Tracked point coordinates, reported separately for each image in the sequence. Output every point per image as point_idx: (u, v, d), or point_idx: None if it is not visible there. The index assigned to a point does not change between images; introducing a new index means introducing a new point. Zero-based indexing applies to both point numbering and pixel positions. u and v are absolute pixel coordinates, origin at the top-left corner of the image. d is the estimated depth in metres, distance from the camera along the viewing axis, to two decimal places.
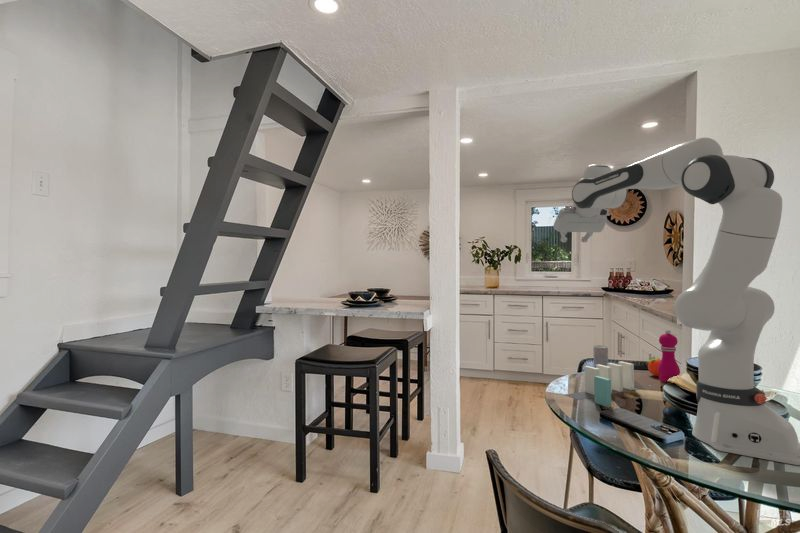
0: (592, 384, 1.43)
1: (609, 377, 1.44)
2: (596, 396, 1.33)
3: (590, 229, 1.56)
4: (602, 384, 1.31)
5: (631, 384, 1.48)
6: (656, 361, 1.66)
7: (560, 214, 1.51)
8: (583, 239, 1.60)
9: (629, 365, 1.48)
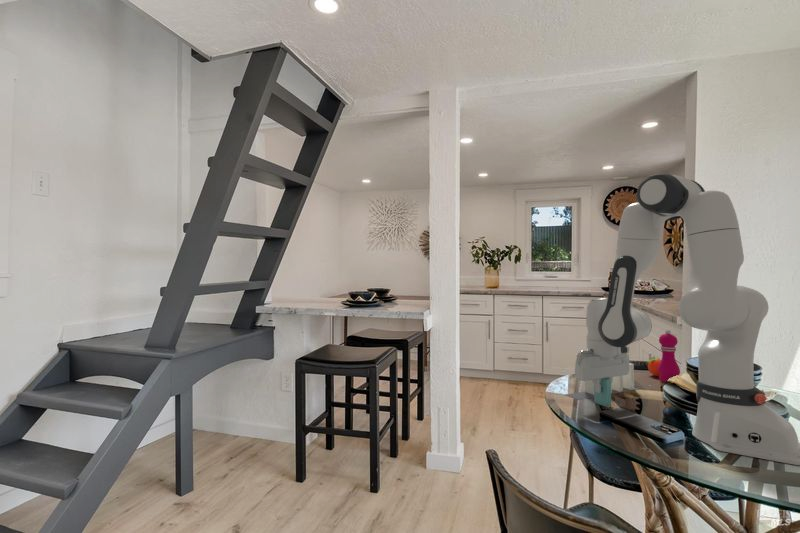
0: (592, 384, 1.43)
1: None
2: (596, 396, 1.33)
3: (616, 372, 1.32)
4: (602, 384, 1.31)
5: (631, 384, 1.48)
6: (656, 361, 1.66)
7: (579, 360, 1.28)
8: None
9: None
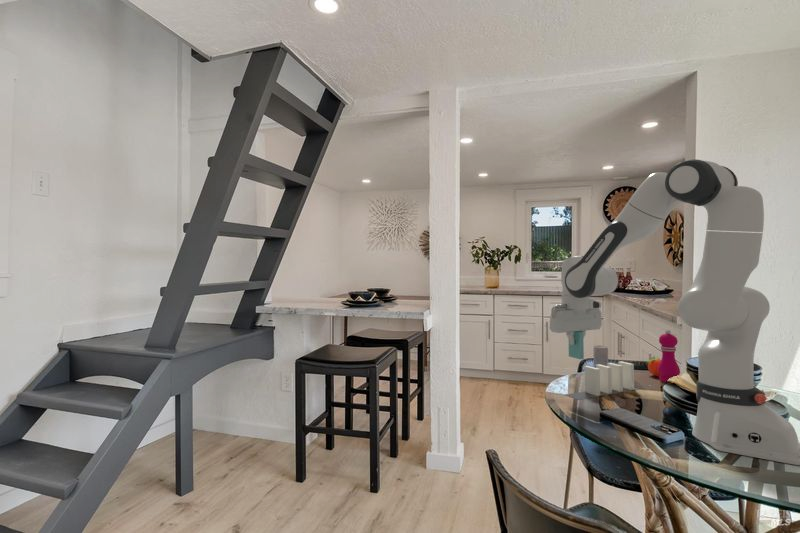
0: (592, 384, 1.43)
1: (609, 377, 1.44)
2: (570, 349, 1.43)
3: (589, 326, 1.41)
4: (575, 337, 1.40)
5: (631, 384, 1.48)
6: (656, 361, 1.66)
7: (553, 313, 1.37)
8: None
9: (629, 365, 1.48)
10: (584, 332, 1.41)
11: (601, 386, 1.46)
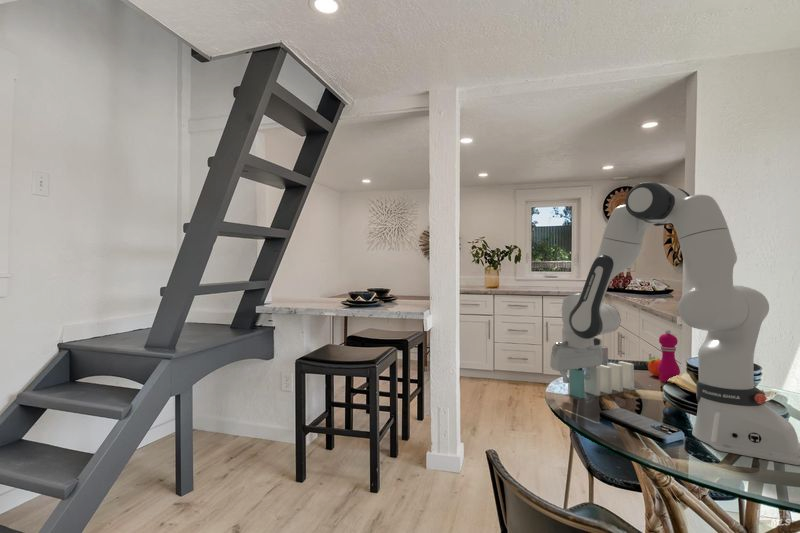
0: (592, 384, 1.43)
1: (609, 377, 1.44)
2: (571, 387, 1.42)
3: (589, 363, 1.41)
4: (576, 375, 1.40)
5: (631, 384, 1.48)
6: (656, 361, 1.66)
7: (554, 351, 1.37)
8: (586, 376, 1.43)
9: (629, 365, 1.48)
10: (592, 368, 1.42)
11: (601, 386, 1.46)
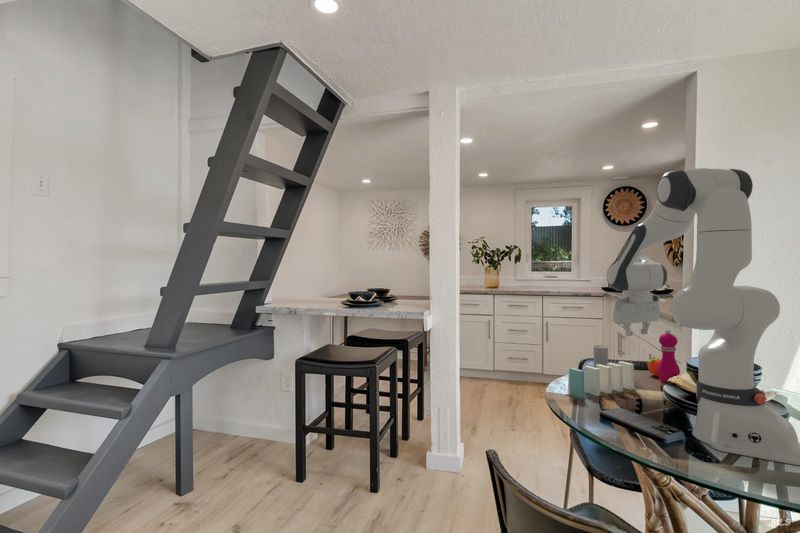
0: (592, 384, 1.43)
1: (609, 377, 1.44)
2: (571, 387, 1.42)
3: (648, 318, 1.53)
4: (576, 375, 1.40)
5: (631, 384, 1.48)
6: (656, 361, 1.66)
7: (617, 306, 1.49)
8: (643, 331, 1.54)
9: (629, 365, 1.48)
10: (648, 323, 1.54)
11: (601, 386, 1.46)
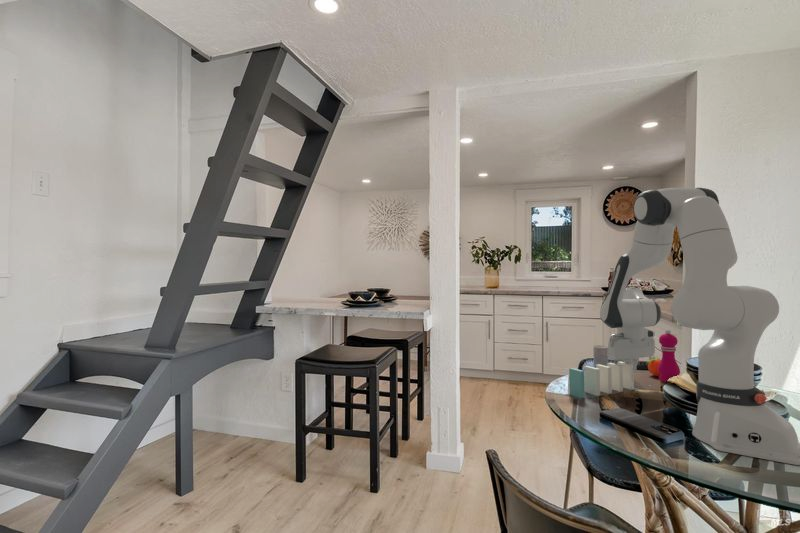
0: (592, 384, 1.43)
1: (609, 377, 1.44)
2: (571, 387, 1.42)
3: (643, 354, 1.51)
4: (576, 375, 1.40)
5: (631, 384, 1.48)
6: (656, 361, 1.66)
7: (611, 342, 1.47)
8: None
9: (628, 365, 1.48)
10: (637, 359, 1.51)
11: (601, 386, 1.46)
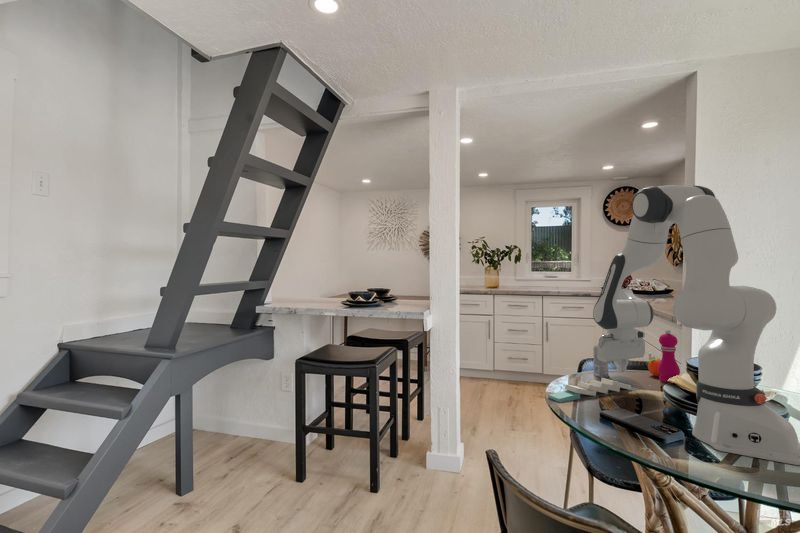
0: None
1: (596, 389, 1.41)
2: None
3: (633, 355, 1.49)
4: None
5: (626, 388, 1.47)
6: (656, 361, 1.66)
7: (601, 343, 1.45)
8: None
9: None
10: (627, 360, 1.49)
11: None
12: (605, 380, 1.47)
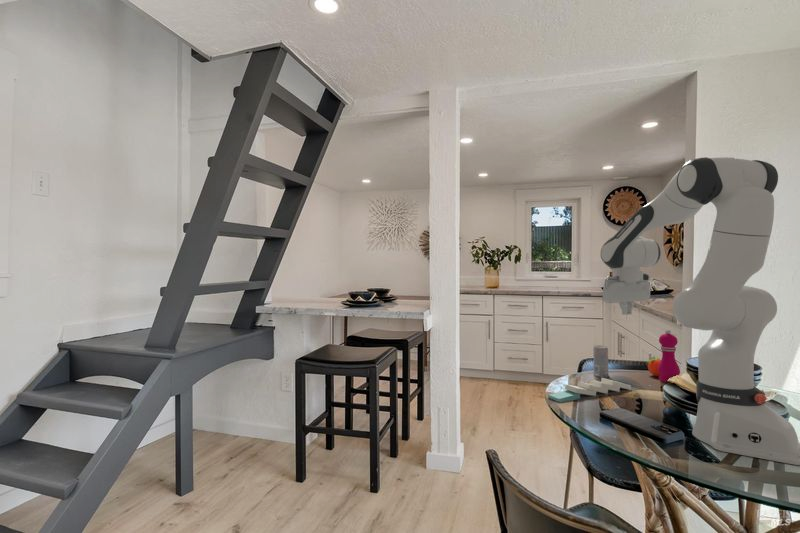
0: None
1: (596, 389, 1.41)
2: None
3: (639, 297, 1.50)
4: None
5: (626, 388, 1.47)
6: (656, 361, 1.66)
7: (607, 284, 1.46)
8: None
9: None
10: (633, 303, 1.50)
11: None
12: (605, 380, 1.47)
